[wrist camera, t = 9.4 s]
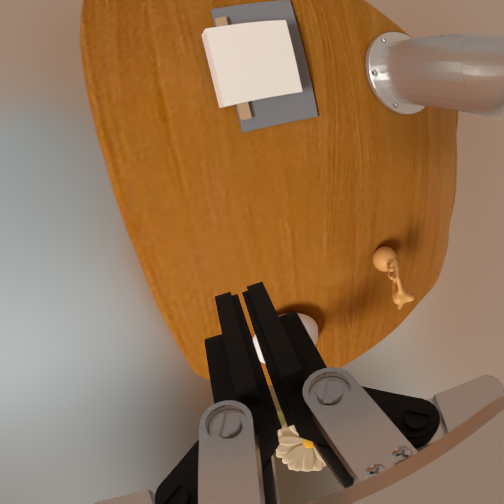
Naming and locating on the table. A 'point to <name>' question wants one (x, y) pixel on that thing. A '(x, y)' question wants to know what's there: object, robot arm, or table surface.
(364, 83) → the table surface
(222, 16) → the charcoal mat
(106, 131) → the table surface
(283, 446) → the flower in vase
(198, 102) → the table surface
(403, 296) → the figurine
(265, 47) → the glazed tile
